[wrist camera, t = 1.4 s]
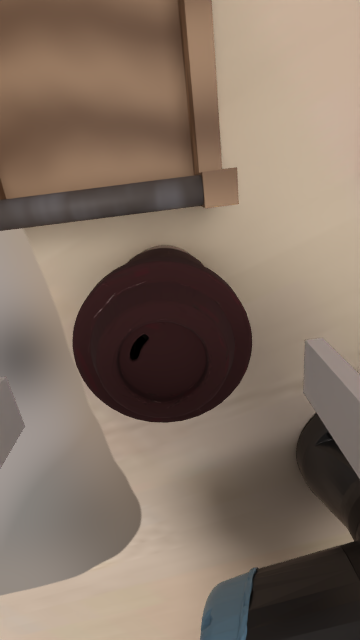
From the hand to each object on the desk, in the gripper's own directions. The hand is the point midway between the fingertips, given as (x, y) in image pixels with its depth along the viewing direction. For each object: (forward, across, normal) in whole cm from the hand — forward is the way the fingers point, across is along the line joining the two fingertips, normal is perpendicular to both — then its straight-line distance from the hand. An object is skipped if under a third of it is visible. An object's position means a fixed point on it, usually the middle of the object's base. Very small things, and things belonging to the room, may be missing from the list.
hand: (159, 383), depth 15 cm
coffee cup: (+17, 0, 0) cm, 17 cm away
